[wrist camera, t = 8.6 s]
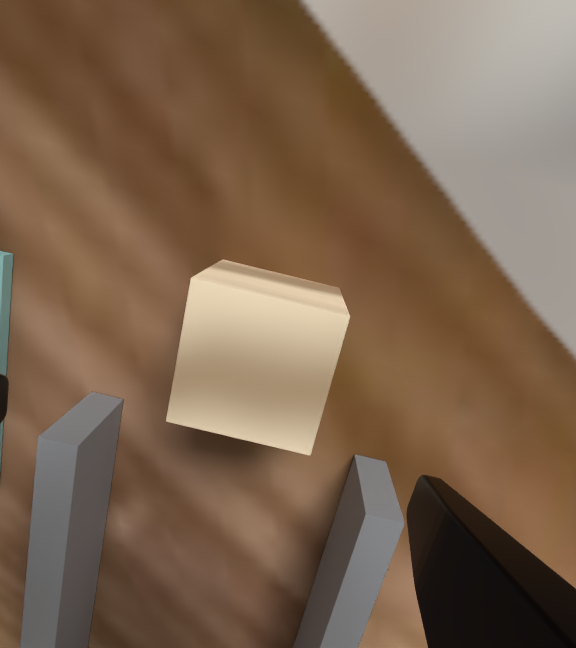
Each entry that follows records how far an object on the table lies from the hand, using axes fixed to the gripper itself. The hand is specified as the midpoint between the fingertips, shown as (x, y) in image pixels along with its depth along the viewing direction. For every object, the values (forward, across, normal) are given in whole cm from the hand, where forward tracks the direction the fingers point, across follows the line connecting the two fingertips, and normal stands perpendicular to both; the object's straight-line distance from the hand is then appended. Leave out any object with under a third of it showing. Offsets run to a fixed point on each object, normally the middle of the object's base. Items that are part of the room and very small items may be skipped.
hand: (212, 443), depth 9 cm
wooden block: (+10, 0, 0) cm, 10 cm away
